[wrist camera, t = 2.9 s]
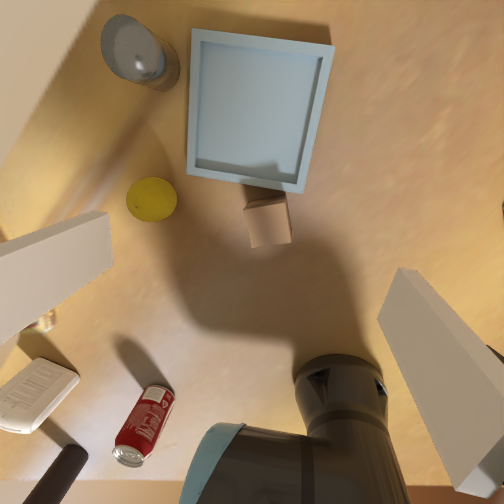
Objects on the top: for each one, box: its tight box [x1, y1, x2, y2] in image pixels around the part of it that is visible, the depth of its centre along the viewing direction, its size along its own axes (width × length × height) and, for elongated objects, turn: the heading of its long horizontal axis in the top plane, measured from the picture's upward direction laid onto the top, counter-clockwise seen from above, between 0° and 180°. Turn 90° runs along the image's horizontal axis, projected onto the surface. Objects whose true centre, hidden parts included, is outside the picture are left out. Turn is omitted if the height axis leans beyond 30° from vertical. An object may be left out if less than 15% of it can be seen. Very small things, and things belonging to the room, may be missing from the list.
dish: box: [186, 28, 335, 194], centre depth 31 cm, size 15×15×2 cm
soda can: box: [112, 385, 175, 468], centre depth 49 cm, size 7×7×12 cm
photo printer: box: [0, 357, 80, 434], centre depth 51 cm, size 10×4×12 cm, turn 68°
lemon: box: [126, 177, 177, 222], centre depth 34 cm, size 6×6×8 cm
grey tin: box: [101, 15, 180, 91], centre depth 28 cm, size 5×5×7 cm
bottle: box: [23, 445, 88, 504], centre depth 60 cm, size 7×7×20 cm
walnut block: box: [243, 195, 292, 248], centre depth 34 cm, size 5×5×5 cm
